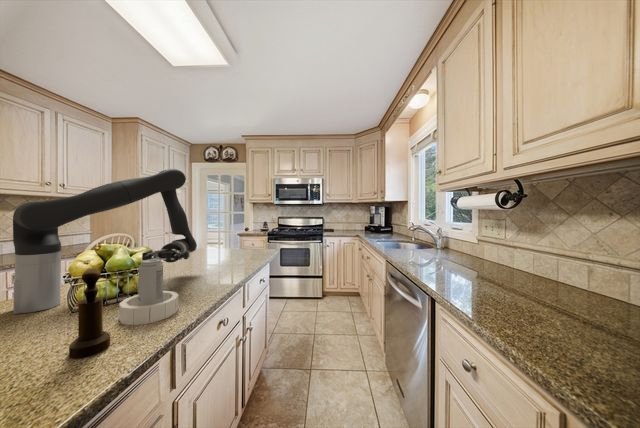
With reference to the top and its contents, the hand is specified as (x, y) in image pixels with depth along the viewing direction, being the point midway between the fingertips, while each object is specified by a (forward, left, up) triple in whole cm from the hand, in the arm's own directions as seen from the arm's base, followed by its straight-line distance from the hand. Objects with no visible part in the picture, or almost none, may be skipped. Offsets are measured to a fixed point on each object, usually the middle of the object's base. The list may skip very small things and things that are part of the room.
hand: (161, 258), depth 80 cm
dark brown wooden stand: (-19, -21, -15) cm, 32 cm away
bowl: (-5, -9, -15) cm, 18 cm away
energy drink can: (-5, -8, -14) cm, 17 cm away
